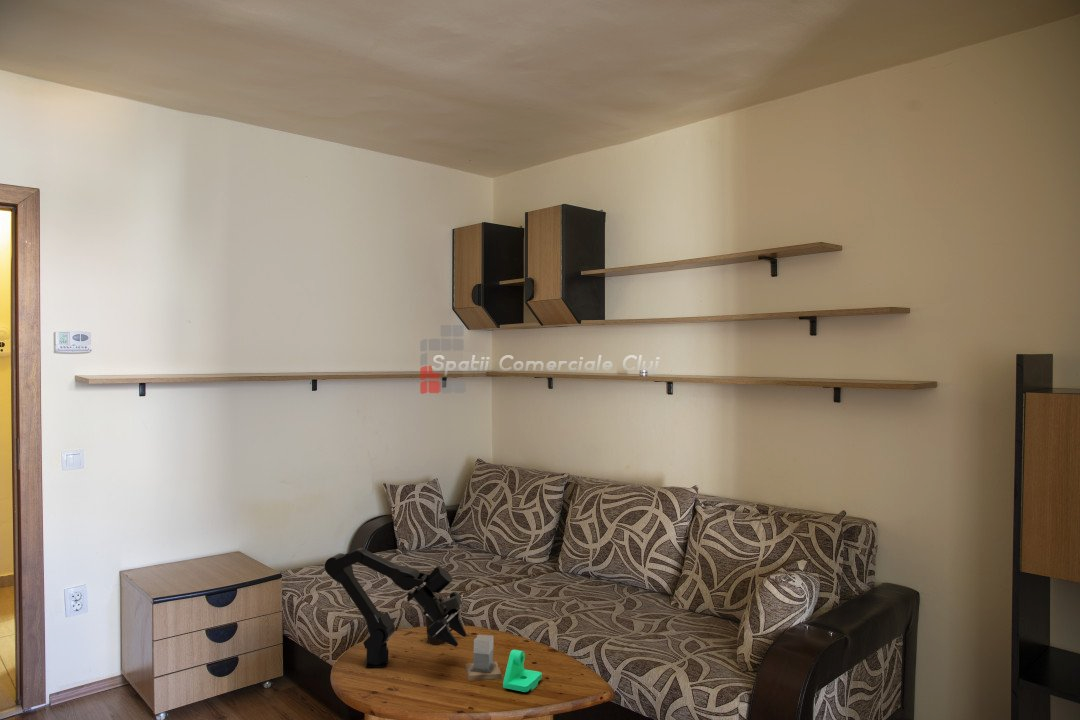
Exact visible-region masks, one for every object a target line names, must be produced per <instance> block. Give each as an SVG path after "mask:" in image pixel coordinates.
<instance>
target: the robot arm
mask: <svg viewBox="0 0 1080 720" xmlns="http://www.w3.org/2000/svg"><path fill="white" fill-rule="evenodd" d="M357 563H358V564H360V565H363V566H364V567H367V568H368V569H371V570H373V571H375V572H376V573H378V574H380V575H383V576H385V577H387V578H389V579H390V580H391V581H392V582H393V583H394V584H395V586H397V587H399V589H401V590H403V591H405V592H407V599H406V602H408V603H409V602H410V601H411V600H414V601H416V603H417V604H418V606H420V608H421V609H422V610H423V612H422V614H423V615H424V616H425V615H426V614H427V615H428V616H429V617H430V618H431V620H432V621H433V622H432V623H431V624H432V625H431V626H430V627H429V628H428V629H427V628H426V635H427V634H428V636H429V637H430V638H431V637H432V636H433V635H435V634H436V635H435V636H434V637H433V638H436V639H439V640H441V641H444V642H446V643H445V644H449V645H451V646H453V647H458V646H459V642H458V641H457V639H456V637H455V636H454V635H453V633H452V632H451V631H450V629H453V630H452V631H454V632H456V633H457V634H458V635H460V636H462V637H464V638H465V637H466V636H467V632H466V630H465V627H464V626H463V623H462V621H461V618H460V617H461V613H462V611H461V608H462V607H461V605H462V604H463V601H462V595H460V593H458V592H457V591H456V590H455V591H452V592H451V593H450V594H449V597H447V598H445V599H443V597H441V596H440V597H437V595H436V594H435V593H437V594H440V593H441V592H442V591H443V590H445V589H446V588H447V587H448V586H449V585H450V584H452V582H453V576H452V575H451V574H450V572H449V571H448V570H446V569H445V568H443V567H441V566H440V565H437V566H436V567H435V568H434V569H433V570H432V571H431V572H430V573H424V572H421V571H419V570H418V569H417V568H414V567H412V566H411V567H409V566H406V565H399V564H396V563H394V562H391V560H388V559H385V558H383V557H381V556H379V555H377V554H375V553H372V552H371V551H370V550H367V549H366V548H365V547H358V549H356V550H353V551H351V552H348V553H337V554H335V555H333V556H331V557H329V558H327V560H326V561H325V563H324V571H325V572H326V573H327V574H328V576H329V577H330V578H331V579H332V580H334V581H335V582H337V583H339V584H340V585H341V586H342V587H343V589H344V591H345V592H346V593H347V595H348V596H349V598H350V599H351V600H352V602H353V604H354V605H355V606H356V608H357V609H358V611H359V613H360V614H361V615H362V617H363V619H364V620H365V622H366V627H367V632H368V634H369V636H368V637H367V638H366V639H365V640H364V641H363V646H364V649H366V660H365V661H366V662H365V668H366V667H369V668H368V669H370V667H374V668H386V667H387V666H388V665H387V664H388V663H389V647H388V645H387V644H388V643H387V642H388V641H389V639H390V638H391V637H392V636H393V635H394V634H395V631H396V626H395V624H394V623H395V620H393V619H392V617H391V616H390V614H389V612H388V611H386V612H384V613H382V612H381V611H380V610H378V608H377V607H376V606H375V604H374V603H373V601H372V600H371V598H370V597H369V595H368V593H366V591H365V589H364V588H363V586H362V585H361V583H360V581H358V579H357V578H356V575H354V570H353V569H354V568H353V565H354V564H357ZM424 583H425V584H424ZM423 584H424V585H423ZM422 585H423V586H422ZM414 588H415V589H414ZM413 589H414V590H413ZM412 590H413V591H412Z"/></svg>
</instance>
